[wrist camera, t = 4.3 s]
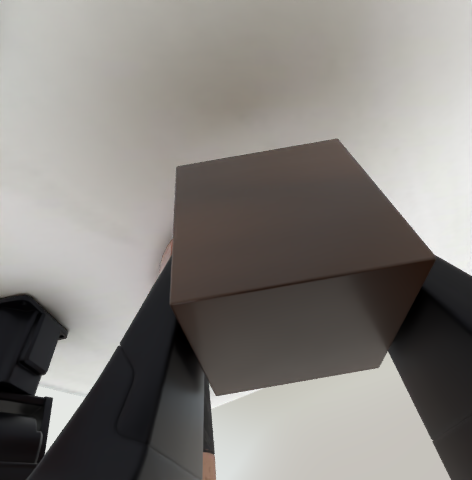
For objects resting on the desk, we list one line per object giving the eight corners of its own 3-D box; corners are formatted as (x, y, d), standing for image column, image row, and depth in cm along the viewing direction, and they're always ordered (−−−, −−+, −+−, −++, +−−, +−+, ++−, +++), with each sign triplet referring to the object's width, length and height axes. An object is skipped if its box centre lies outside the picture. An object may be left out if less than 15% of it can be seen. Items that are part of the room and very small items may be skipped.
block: (207, 270, 11) (215, 396, 8) (176, 165, 8) (168, 304, 5) (324, 249, 11) (379, 368, 8) (338, 137, 8) (438, 257, 5)
